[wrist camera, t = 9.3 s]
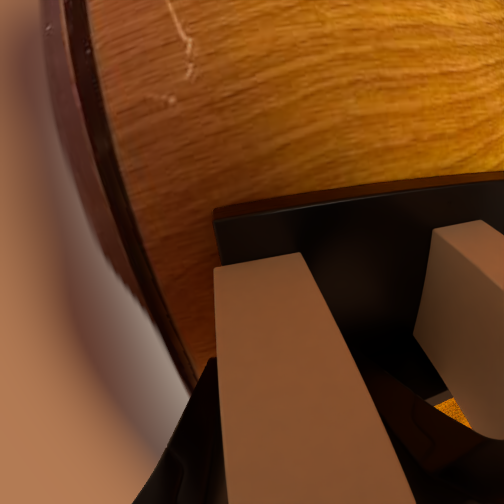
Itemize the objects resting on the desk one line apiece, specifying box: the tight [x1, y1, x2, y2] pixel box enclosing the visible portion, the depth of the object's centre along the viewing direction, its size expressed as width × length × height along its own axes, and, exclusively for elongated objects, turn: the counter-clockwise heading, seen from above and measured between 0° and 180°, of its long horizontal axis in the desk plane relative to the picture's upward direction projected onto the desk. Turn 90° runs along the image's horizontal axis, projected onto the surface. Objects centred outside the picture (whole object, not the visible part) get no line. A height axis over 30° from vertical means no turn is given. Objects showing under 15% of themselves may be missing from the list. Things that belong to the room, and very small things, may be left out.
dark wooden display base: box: [212, 171, 504, 406], centre depth 10 cm, size 18×8×4 cm, turn 98°
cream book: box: [213, 252, 416, 504], centre depth 7 cm, size 3×5×8 cm, turn 8°
